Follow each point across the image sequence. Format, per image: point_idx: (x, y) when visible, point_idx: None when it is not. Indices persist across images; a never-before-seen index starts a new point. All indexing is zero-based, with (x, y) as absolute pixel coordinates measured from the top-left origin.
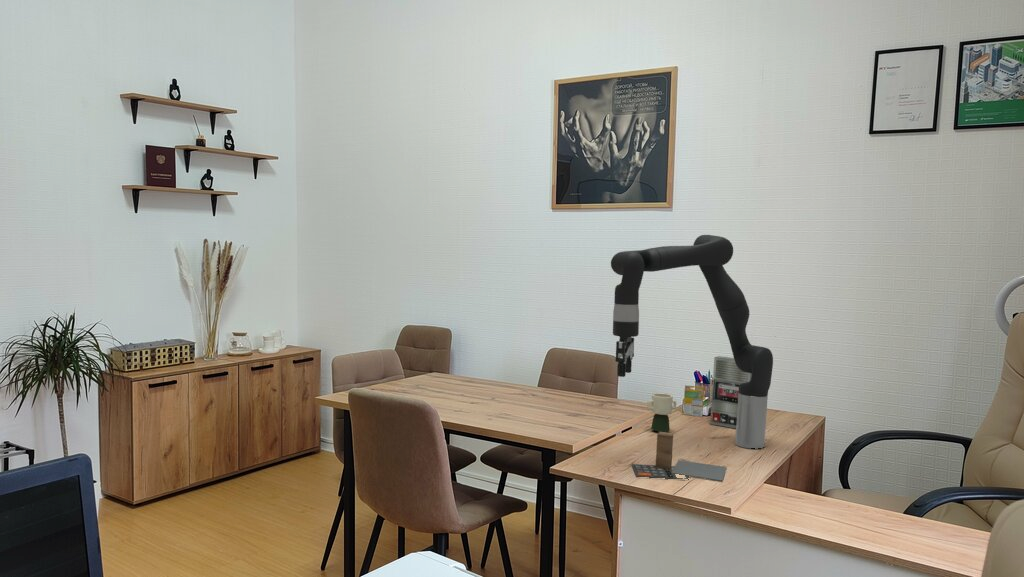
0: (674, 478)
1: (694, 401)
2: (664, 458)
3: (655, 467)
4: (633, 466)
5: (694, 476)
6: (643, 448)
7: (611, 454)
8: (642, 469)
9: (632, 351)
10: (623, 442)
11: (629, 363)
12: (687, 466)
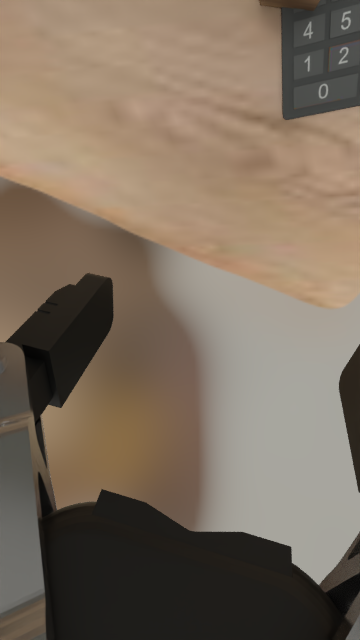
0: None
1: None
2: None
3: (313, 10)
4: (313, 110)
5: None
6: (71, 88)
7: (184, 193)
8: (347, 70)
9: (28, 488)
10: (44, 163)
11: (69, 340)
12: None
